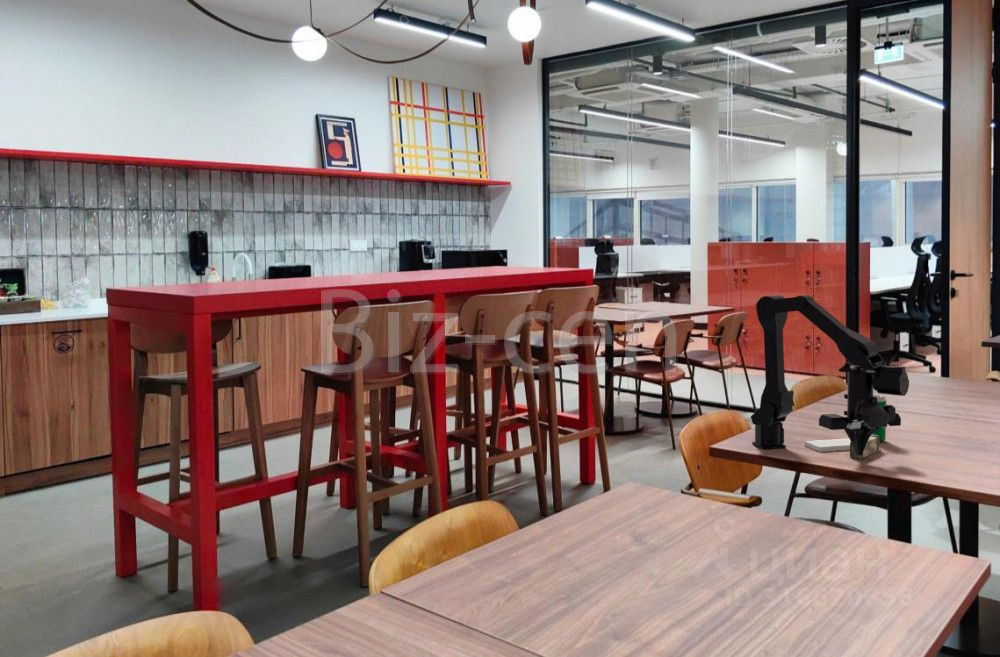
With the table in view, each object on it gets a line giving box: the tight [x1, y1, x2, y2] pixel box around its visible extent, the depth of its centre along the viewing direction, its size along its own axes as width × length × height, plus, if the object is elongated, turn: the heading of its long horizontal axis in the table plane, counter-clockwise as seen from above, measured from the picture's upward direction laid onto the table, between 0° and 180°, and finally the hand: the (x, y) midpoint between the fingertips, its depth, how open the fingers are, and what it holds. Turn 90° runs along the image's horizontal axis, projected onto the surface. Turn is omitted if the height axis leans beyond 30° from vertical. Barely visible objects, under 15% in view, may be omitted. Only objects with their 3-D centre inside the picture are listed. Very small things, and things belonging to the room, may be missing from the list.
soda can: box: [871, 394, 887, 443], centre depth 221 cm, size 5×5×12 cm
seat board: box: [803, 437, 882, 453], centre depth 214 cm, size 16×11×1 cm, turn 101°
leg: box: [849, 435, 880, 460], centre depth 208 cm, size 13×3×4 cm, turn 136°
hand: (859, 455), depth 201 cm, fingers closed
